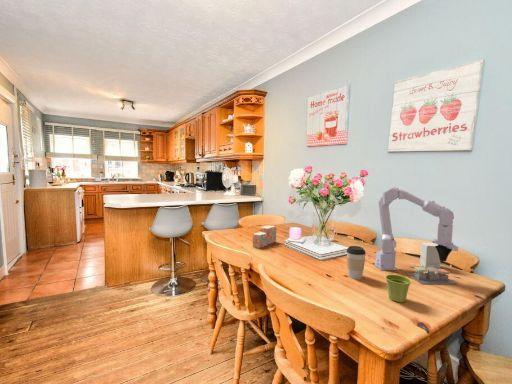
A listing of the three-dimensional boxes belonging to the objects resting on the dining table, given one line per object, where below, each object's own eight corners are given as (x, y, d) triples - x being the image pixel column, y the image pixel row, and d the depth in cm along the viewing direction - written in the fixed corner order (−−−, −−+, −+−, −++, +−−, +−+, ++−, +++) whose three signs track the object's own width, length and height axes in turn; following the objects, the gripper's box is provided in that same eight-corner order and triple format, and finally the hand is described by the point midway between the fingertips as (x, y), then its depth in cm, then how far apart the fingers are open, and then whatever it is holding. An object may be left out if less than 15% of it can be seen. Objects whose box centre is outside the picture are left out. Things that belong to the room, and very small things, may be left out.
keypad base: (421, 284, 120) (422, 279, 119) (406, 274, 131) (406, 269, 131) (457, 284, 120) (457, 279, 120) (438, 274, 132) (439, 269, 132)
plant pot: (379, 294, 109) (380, 274, 109) (400, 293, 110) (401, 273, 110) (393, 305, 100) (394, 284, 99) (415, 304, 101) (416, 283, 100)
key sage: (418, 276, 123) (419, 269, 123) (413, 273, 127) (413, 266, 127) (426, 276, 123) (427, 269, 123) (421, 273, 127) (421, 266, 127)
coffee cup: (364, 274, 131) (365, 245, 130) (365, 281, 122) (366, 250, 121) (345, 271, 134) (346, 243, 133) (345, 278, 125) (346, 248, 124)
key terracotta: (440, 279, 124) (441, 272, 123) (434, 275, 128) (435, 269, 127) (448, 279, 124) (449, 272, 124) (442, 275, 128) (443, 269, 128)
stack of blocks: (259, 248, 173) (260, 230, 172) (252, 247, 176) (252, 229, 176) (276, 242, 190) (276, 225, 189) (269, 240, 194) (269, 224, 193)
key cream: (429, 276, 124) (430, 269, 123) (424, 273, 127) (424, 266, 127) (437, 276, 124) (438, 269, 123) (432, 273, 128) (432, 266, 127)
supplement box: (440, 269, 139) (441, 246, 138) (425, 268, 140) (426, 245, 139) (433, 264, 146) (435, 243, 145) (419, 263, 147) (420, 242, 146)
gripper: (465, 237, 117) (463, 266, 118) (441, 230, 131) (439, 256, 132) (450, 237, 117) (448, 266, 118) (428, 230, 131) (426, 256, 132)
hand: (442, 260), depth 125 cm, fingers closed
